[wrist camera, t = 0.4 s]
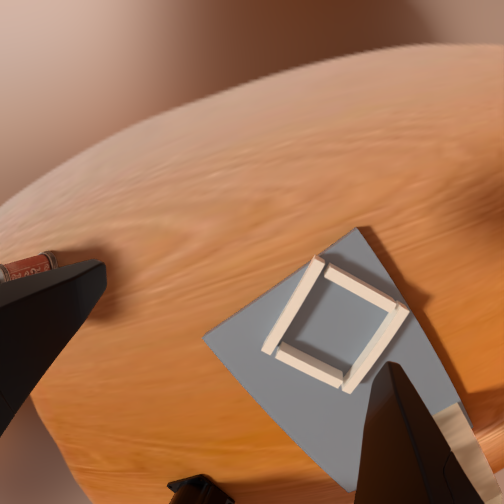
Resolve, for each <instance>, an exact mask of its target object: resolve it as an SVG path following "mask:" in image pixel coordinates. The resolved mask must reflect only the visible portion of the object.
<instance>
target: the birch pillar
mask: <svg viewBox="0 0 504 504" xmlns="http://www.w3.org/2000/svg"><path fill="white" fill-rule="evenodd" d="M432 417H433V418H434V420H435V422H436V423H437V425H438V427H439V429H440V430H441V432H442V434H443V436H444V437H445V439H446V441H447V442H448V444H449V446H450V448H451V451H453V453H454V455H455V456H456V458H457V460H458V462H459V464H460V465H461V467H462V469H463V470H464V472H465V474H466V475H467V477H468V478H469V480H470V482H471V483H472V485H473V486H474V488H475V489H476V491H477V492H478V494H479V495H480V497H481V498H482V500H483V501H484V503H485V504H502V492H501V490H500V487H499V485H498V483H497V481H496V478H495V476H494V474H493V472H492V470H491V468H490V465H489V463H488V461H487V459H486V457H485V455H484V453H483V451H482V449H481V447H480V445H479V443H478V441H477V439H476V437H475V435H474V433H473V431H472V429H471V427H470V425H469V424H468V422H467V420H466V418H465V416H464V414H463V412H462V411H461V409H460V407H459V405H458V403H457V402H456V403H455V404H453V405H451V406H449V407H447V408H445V409H444V410H442V411H440V412H438V413H436V414H434V415H432Z"/></svg>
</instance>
